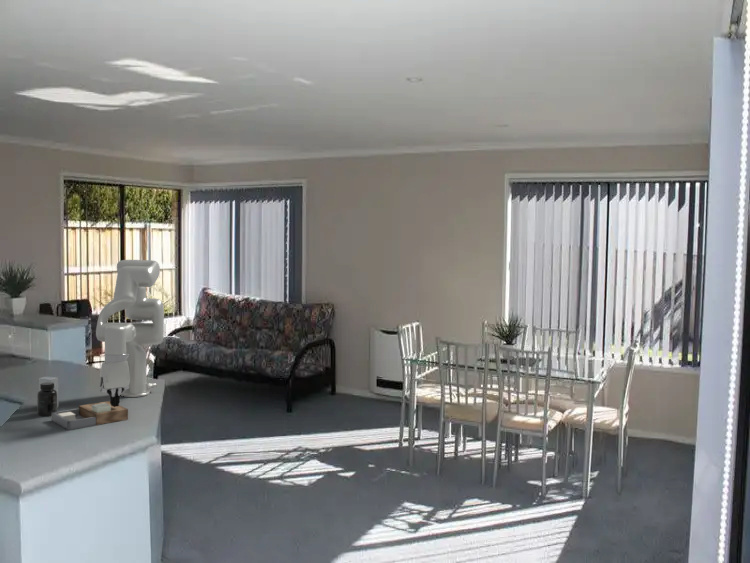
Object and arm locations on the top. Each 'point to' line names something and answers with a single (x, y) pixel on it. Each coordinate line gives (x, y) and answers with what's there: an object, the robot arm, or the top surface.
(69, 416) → the tile cream
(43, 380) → the skincare box
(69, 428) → the box
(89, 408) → the board
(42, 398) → the supplement bottle
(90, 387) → the top surface
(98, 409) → the tile sage
